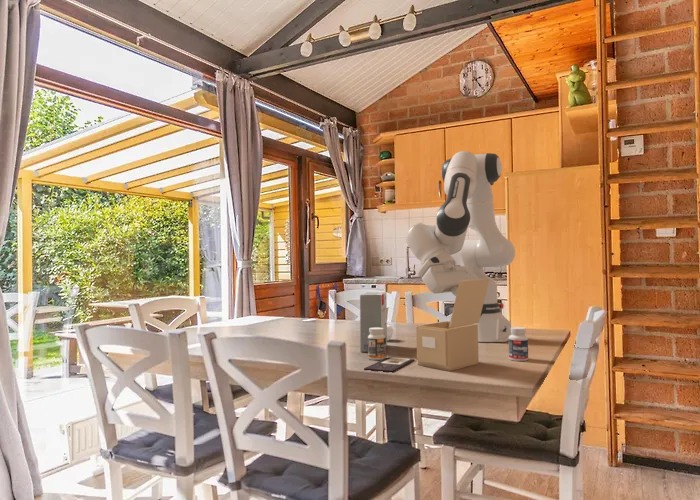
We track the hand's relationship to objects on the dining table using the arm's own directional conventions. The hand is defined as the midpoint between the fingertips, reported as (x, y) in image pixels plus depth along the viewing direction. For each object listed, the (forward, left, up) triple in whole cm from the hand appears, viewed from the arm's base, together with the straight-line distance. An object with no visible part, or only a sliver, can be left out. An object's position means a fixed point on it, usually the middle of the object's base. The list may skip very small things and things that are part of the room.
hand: (467, 300), depth 154 cm
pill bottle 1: (+8, -30, -20) cm, 37 cm away
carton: (-1, -8, -20) cm, 22 cm away
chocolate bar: (+13, -20, -21) cm, 31 cm away
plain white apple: (-19, -54, -20) cm, 61 cm away
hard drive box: (-4, -44, -20) cm, 48 cm away
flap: (-1, -2, -8) cm, 8 cm away
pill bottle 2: (-22, +3, -20) cm, 30 cm away
